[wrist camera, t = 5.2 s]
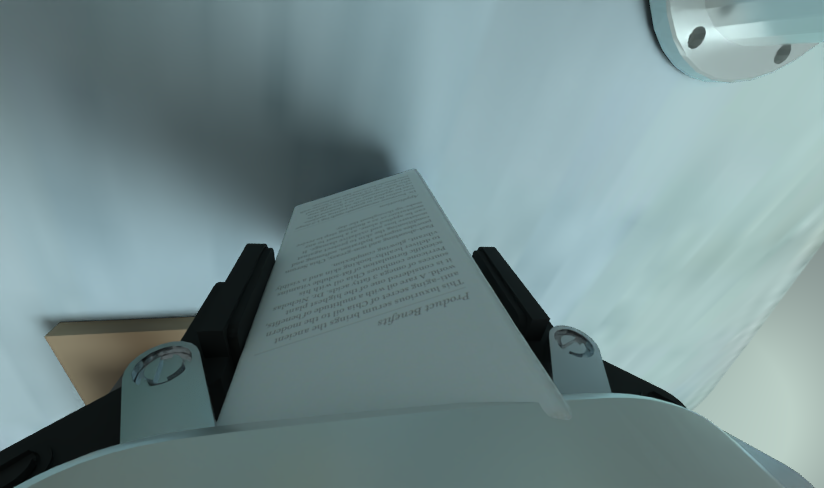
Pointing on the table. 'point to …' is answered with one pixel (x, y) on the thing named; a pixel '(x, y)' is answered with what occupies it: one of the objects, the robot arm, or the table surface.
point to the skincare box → (380, 316)
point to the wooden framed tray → (108, 349)
